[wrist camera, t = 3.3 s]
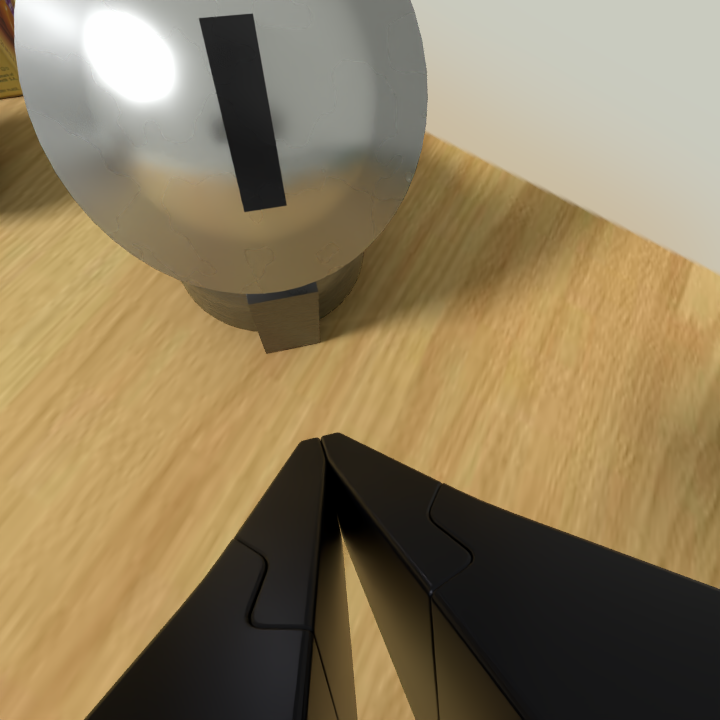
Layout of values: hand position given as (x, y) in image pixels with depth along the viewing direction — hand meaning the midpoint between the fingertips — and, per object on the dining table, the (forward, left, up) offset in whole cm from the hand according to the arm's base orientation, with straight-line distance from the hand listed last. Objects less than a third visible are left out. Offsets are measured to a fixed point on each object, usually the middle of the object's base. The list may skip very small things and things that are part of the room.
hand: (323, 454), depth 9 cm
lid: (+12, -1, -2) cm, 12 cm away
